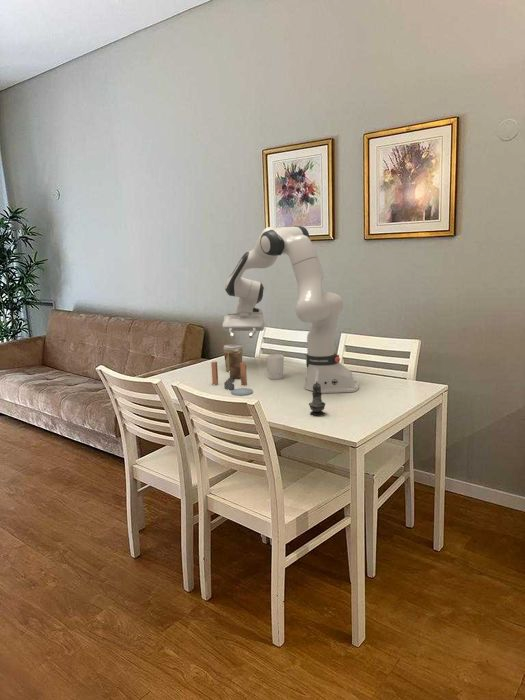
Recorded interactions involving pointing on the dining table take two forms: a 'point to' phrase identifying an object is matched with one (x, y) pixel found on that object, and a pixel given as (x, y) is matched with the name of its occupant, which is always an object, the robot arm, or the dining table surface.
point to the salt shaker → (317, 401)
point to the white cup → (275, 366)
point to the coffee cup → (227, 350)
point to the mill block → (235, 363)
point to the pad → (242, 391)
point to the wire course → (229, 382)
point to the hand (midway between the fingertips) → (241, 337)
